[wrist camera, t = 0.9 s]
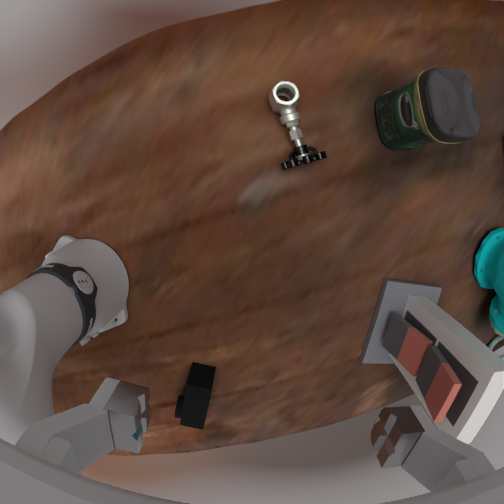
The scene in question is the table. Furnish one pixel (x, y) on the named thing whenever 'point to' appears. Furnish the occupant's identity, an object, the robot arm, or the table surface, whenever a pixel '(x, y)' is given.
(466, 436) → the tower
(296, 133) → the valve
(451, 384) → the upper rocker
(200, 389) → the digital camera
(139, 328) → the table surface
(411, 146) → the coffee jar
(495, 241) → the valve
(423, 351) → the lower rocker
